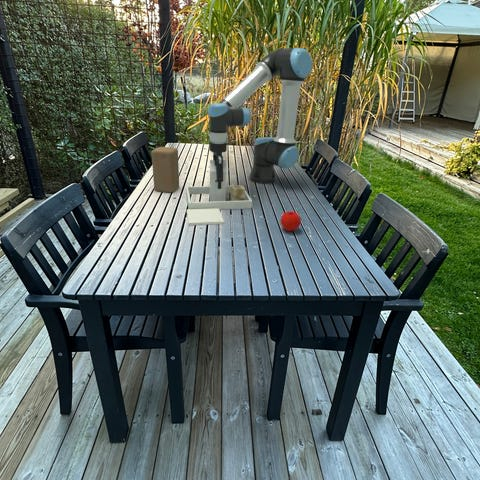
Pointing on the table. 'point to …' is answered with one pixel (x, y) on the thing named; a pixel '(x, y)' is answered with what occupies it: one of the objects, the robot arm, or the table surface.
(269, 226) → the table surface
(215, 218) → the tile
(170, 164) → the wooden block
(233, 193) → the oak block
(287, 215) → the apple
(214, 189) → the milk carton
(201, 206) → the rectangular frame
